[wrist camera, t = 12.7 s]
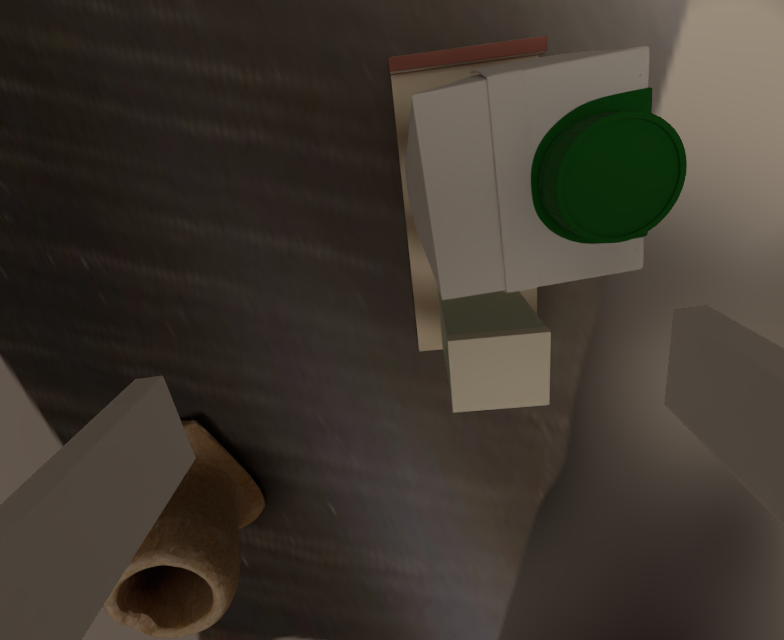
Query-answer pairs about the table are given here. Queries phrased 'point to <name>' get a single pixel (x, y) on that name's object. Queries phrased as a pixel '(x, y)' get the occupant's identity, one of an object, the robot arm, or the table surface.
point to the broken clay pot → (190, 547)
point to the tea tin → (494, 352)
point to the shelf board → (406, 81)
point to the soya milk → (540, 171)
